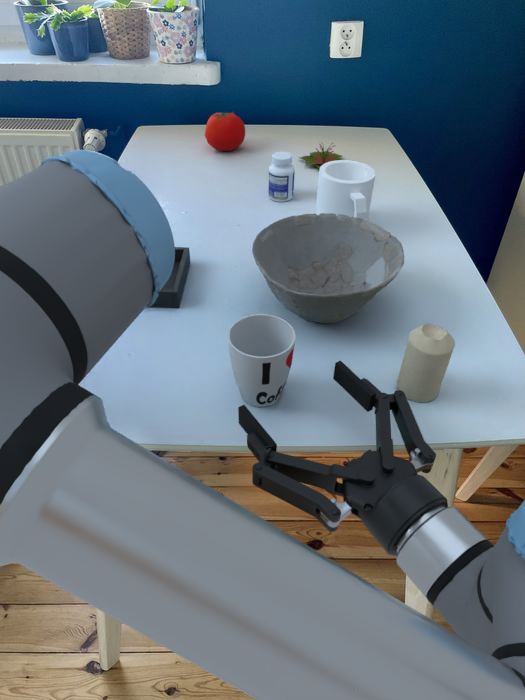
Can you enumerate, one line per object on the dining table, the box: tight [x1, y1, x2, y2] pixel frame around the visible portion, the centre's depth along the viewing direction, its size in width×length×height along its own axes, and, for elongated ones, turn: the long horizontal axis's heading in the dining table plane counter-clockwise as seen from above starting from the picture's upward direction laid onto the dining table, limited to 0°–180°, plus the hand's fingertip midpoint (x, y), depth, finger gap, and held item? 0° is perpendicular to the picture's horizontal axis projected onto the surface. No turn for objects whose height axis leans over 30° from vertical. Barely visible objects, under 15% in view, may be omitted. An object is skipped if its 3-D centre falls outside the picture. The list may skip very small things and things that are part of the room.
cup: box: [227, 313, 297, 408], centre depth 68 cm, size 8×8×10 cm
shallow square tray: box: [149, 246, 191, 309], centre depth 88 cm, size 13×13×3 cm
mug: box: [314, 159, 376, 221], centre depth 100 cm, size 14×10×11 cm
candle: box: [396, 323, 456, 403], centre depth 69 cm, size 6×6×10 cm
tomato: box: [204, 111, 246, 152], centre depth 129 cm, size 9×10×8 cm
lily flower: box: [298, 142, 345, 170], centre depth 125 cm, size 12×12×5 cm
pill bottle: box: [268, 151, 296, 203], centre depth 110 cm, size 5×5×9 cm
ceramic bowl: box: [251, 213, 405, 325], centre depth 82 cm, size 22×23×10 cm
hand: (290, 390), depth 63 cm, fingers open, 13 cm apart
